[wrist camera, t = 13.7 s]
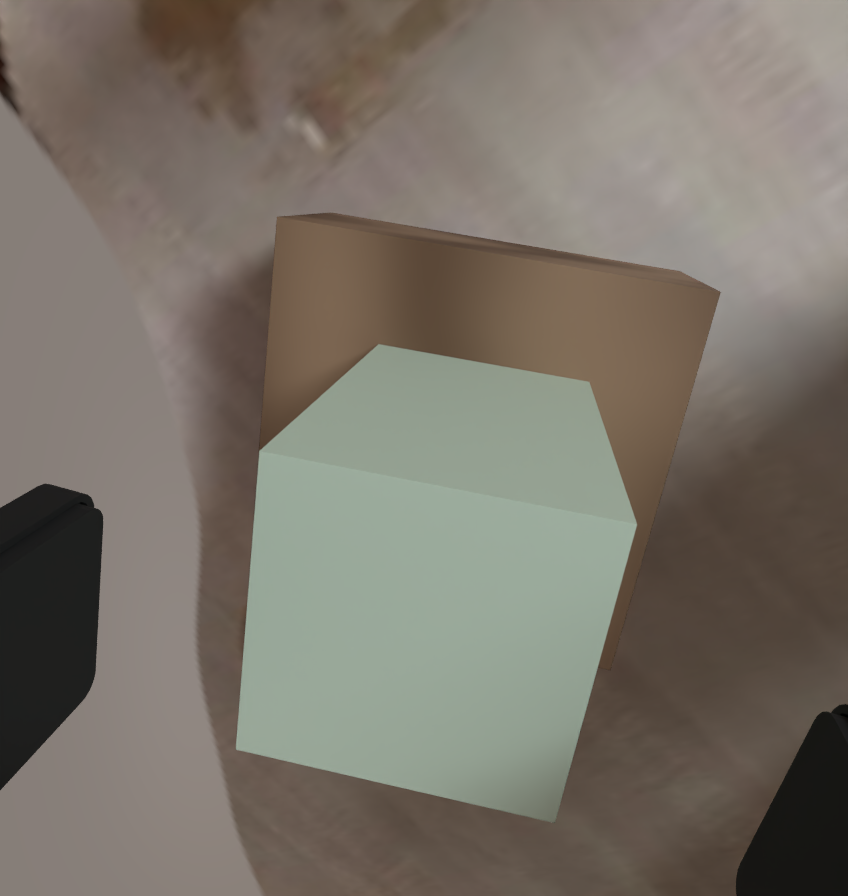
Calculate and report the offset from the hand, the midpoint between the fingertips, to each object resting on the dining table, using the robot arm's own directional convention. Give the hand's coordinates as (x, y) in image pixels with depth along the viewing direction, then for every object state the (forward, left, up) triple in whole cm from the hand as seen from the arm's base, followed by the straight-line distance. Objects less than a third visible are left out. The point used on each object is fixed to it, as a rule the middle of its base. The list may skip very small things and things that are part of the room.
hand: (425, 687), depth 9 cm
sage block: (0, 0, -9) cm, 9 cm away
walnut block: (0, 0, -14) cm, 14 cm away
